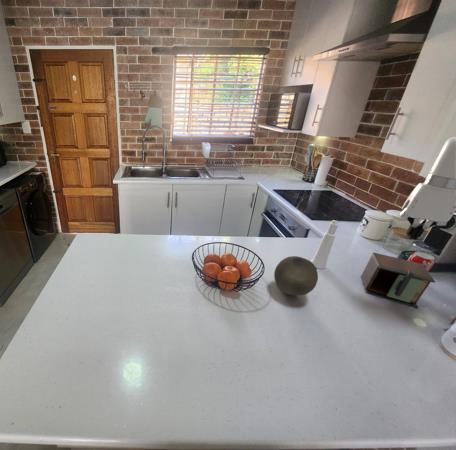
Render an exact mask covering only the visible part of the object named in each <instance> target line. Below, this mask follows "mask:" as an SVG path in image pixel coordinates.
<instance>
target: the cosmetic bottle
mask: <svg viewBox="0 0 456 450" xmlns="http://www.w3.org/2000/svg"><path fill="white" fill-rule="evenodd" d="M339 223H340V222H339V220H335V219H333V220H331V222H330V224H329V226H328V229H327V231H325V233H324V235H323V237H322V239H321V241H320V243H319V246H318V248H317V250H316V252H315V254H314V255H313V257H312V259H311V260H310V261H311V262H312V263H313V264H314V266H315V267H316V269H319V270H324V269H326V268H327V262H328V259H329V255H330V253H331V249H332V248H333V245H334V242H335V239H336V232H337V229H338V227H339Z"/></svg>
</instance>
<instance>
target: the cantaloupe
mask: <svg viewBox="0 0 456 450" xmlns="http://www.w3.org/2000/svg"><path fill="white" fill-rule="evenodd" d="M311 261H312V260H310V259H308V258H304V257H301V256H298V255H297V256H296V255H292V256H287V257H285V258H283V259H282V260H280V261H279V262H278V264H277V265H276V267H275V268H274V272H273V273H274V274H273V277H274V282H275V285H276V287H277V288H278V289H279V290H280V291H281V292H282V293H284V294H285V295H289V296H297V297H301V296H306V295H308V294H309V293H311V292H312V291H313V290H314V289H315V288H316V285H317V284H318V279H319V275H318V270H317V269H318V268H316V267H315V266H314V264H313V263H312V262H311Z"/></svg>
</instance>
